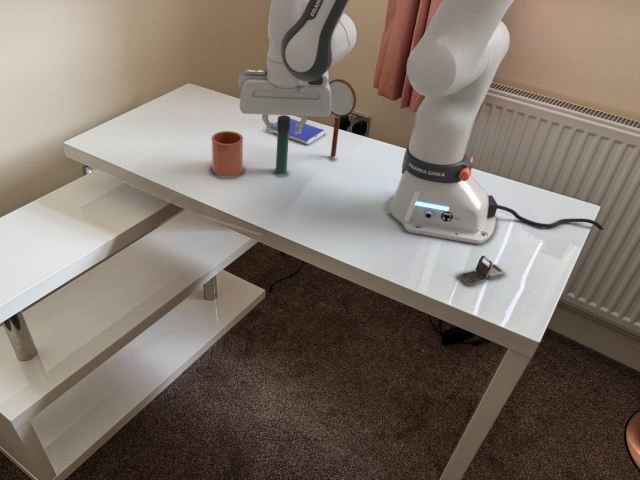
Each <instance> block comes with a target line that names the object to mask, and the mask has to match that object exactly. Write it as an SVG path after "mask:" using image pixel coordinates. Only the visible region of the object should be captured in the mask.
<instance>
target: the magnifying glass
mask: <svg viewBox="0 0 640 480" xmlns="http://www.w3.org/2000/svg"><path fill="white" fill-rule="evenodd" d="M329 85H330V90H331V113H330V114H332V115H334V116H335V117H334V122H333V123H334V125H333V130H332V131H333V132H332V142H331V149H330V157H331V160H334V159H335V157H336V155H337V148H338V147H337V146H338V138H339V132H340V131H339V130H340V124H341V123H340V122H341V118H344V117H347V116H349V115H350V114H352V113H353V112H354V110H355V108H356V105H357V94H356V91H355V89H354V87H353V86H352V84H351V83H349V82H348V81H347V80H345V79H342V78H336V79H333V80H331V81H329Z"/></svg>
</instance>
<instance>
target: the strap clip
mask: <svg viewBox="0 0 640 480" xmlns="http://www.w3.org/2000/svg"><path fill="white" fill-rule="evenodd" d="M484 260H485V261H487V262H488V263H489V264H486V263H485V262H484ZM504 272H505V271H504V270H503V269H502V268H500V267H499V266H498V265H497V264H495V263H493V261H492V260H491V259H489V258H488V257H487V256H486V255H481V256H480V258H479V260H478V262H477V264H476V267H475V270H472V271H468V272H464V273H462V274H460V276H459V277H460V279H461V280H462V281H464V283H465V284H467V285H469V286H471V285H472V286H474V285H477V284H479V283H482V282H484V280H485V279H488V280H492V279H496V278H500V277H501V276H503V275H504ZM466 278H467V279H468V280H469V281H468V280H467V279H466Z"/></svg>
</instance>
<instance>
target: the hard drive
mask: <svg viewBox="0 0 640 480" xmlns="http://www.w3.org/2000/svg"><path fill="white" fill-rule="evenodd" d="M299 122H300V121H299V120H296V119H293V118H290V131H289V139H290V140H294V141H297V142H299V143H301V144H305V145H310V144H311V143H313V142H314V141H316V140H317V139H319V138H321V137H322V136H323V135H325V129H323V128H319V127H317V126H313V125H311V124H308V123H305V124H304V126H303V127H302V131H301V134H295V124H299ZM277 124H278V121H276V122H275V123H274V122H273V133H272V134H276V135H277V133H278V131H277Z"/></svg>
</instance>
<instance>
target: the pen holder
mask: <svg viewBox="0 0 640 480" xmlns="http://www.w3.org/2000/svg"><path fill="white" fill-rule="evenodd" d="M211 167H212V168H211V169H212V171H213V172H214V174H216V175H218V176H221V177H234V176H237V175H239V174H241V173H242V172H243V170H244V137H243V135H242V134H241V133H239V132H236V131H232V130H224V131H218V132H216V133H214V134H213V135H211Z"/></svg>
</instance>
